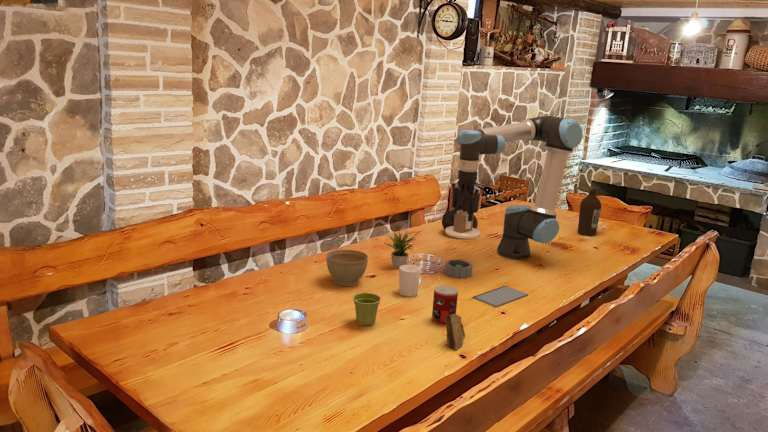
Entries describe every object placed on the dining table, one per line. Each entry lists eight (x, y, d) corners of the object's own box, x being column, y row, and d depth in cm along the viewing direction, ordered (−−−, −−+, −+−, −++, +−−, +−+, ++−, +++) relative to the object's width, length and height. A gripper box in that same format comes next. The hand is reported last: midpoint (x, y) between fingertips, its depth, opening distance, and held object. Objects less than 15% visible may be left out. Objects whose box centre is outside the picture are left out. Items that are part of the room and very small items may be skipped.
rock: (455, 324, 203) (433, 326, 197) (471, 310, 198) (448, 312, 192) (470, 353, 198) (447, 357, 192) (486, 339, 193) (463, 343, 186)
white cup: (416, 298, 228) (418, 272, 226) (395, 295, 230) (397, 270, 227) (420, 291, 236) (422, 266, 233) (399, 288, 237) (401, 263, 235)
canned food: (430, 314, 215) (432, 285, 212) (452, 315, 216) (455, 285, 213) (433, 324, 207) (436, 293, 205) (457, 324, 208) (460, 294, 205)
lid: (460, 226, 260) (462, 207, 258) (487, 234, 250) (489, 215, 248) (437, 232, 251) (439, 212, 249) (464, 240, 241) (466, 220, 239)
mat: (486, 279, 252) (486, 278, 252) (527, 295, 238) (528, 293, 238) (454, 290, 239) (454, 288, 239) (496, 307, 225) (496, 305, 225)
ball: (457, 271, 257) (458, 262, 256) (464, 273, 255) (465, 265, 254) (452, 272, 255) (452, 264, 254) (458, 275, 252) (459, 266, 251)
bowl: (456, 269, 263) (457, 257, 261) (477, 276, 255) (478, 265, 254) (439, 274, 255) (440, 262, 254) (459, 282, 248) (460, 270, 246)
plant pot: (346, 324, 203) (347, 300, 201) (358, 314, 212) (359, 290, 210) (373, 330, 200) (374, 305, 198) (383, 319, 209) (385, 295, 206)
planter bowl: (372, 279, 245) (374, 252, 242) (357, 292, 230) (359, 265, 228) (335, 272, 250) (336, 246, 247) (318, 285, 235) (319, 258, 233)
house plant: (413, 276, 250) (416, 238, 246) (379, 272, 253) (382, 234, 249) (418, 265, 264) (421, 228, 260) (386, 261, 266) (389, 225, 262)
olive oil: (572, 232, 329) (578, 186, 323) (582, 229, 337) (589, 184, 330) (590, 237, 322) (598, 190, 316) (600, 234, 329) (607, 188, 323)
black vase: (441, 228, 323) (446, 175, 316) (476, 231, 321) (481, 178, 313) (439, 238, 306) (444, 182, 298) (476, 241, 303) (482, 185, 296)
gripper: (445, 167, 247) (441, 223, 253) (479, 174, 235) (473, 233, 241) (457, 165, 252) (453, 221, 258) (491, 173, 240) (485, 230, 246)
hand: (463, 227), depth 250 cm, fingers closed on lid, 4 cm apart
